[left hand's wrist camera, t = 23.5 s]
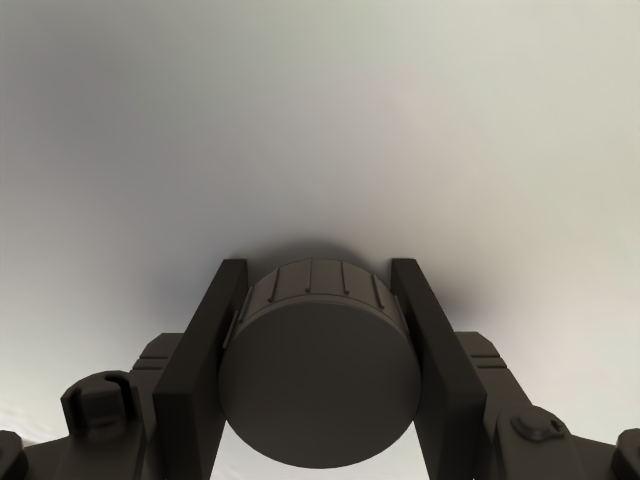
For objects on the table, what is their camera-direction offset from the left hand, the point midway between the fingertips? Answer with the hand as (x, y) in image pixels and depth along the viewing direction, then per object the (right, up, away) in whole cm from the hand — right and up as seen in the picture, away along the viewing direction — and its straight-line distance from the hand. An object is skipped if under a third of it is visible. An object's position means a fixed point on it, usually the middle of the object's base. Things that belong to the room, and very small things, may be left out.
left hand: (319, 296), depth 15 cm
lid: (0, -2, -4) cm, 4 cm away
